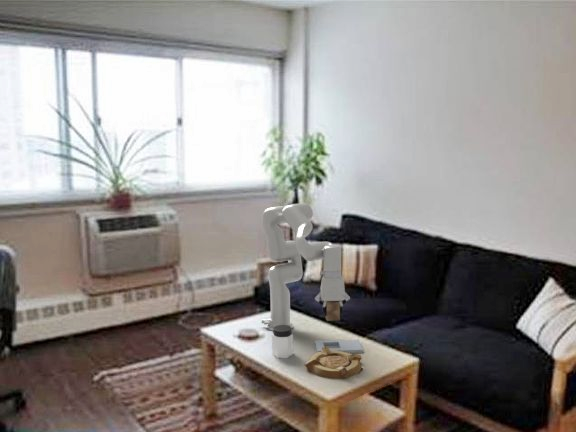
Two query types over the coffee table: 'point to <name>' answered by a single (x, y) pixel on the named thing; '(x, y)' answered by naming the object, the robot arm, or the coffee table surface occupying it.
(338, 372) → the ashtray
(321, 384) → the coffee table surface
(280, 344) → the jar
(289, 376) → the coffee table surface
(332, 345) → the pocket board
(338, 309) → the block
